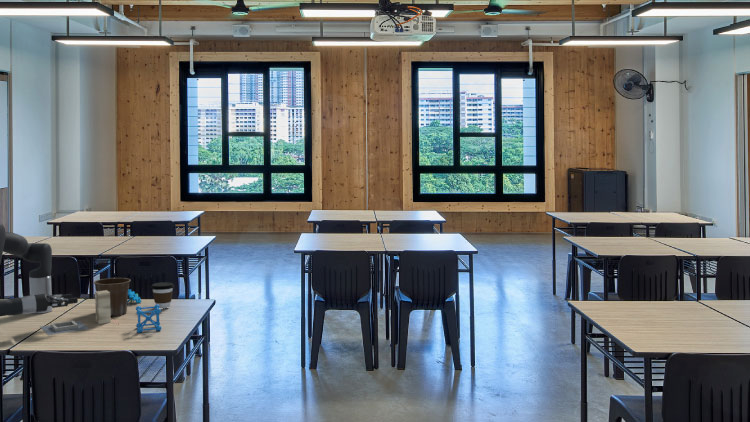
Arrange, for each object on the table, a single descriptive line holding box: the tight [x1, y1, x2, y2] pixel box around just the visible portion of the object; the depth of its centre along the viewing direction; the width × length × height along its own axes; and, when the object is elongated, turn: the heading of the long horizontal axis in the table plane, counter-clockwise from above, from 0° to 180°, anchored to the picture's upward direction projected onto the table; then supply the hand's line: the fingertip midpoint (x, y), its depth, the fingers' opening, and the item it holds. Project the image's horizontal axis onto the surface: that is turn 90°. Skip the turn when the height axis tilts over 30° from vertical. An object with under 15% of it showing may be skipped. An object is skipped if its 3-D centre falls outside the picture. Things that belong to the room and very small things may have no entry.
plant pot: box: [93, 277, 131, 317], centre depth 295 cm, size 16×16×16 cm
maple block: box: [94, 290, 112, 325], centre depth 277 cm, size 5×5×14 cm
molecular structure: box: [135, 304, 162, 334], centre depth 269 cm, size 10×10×10 cm
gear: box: [127, 288, 142, 304], centre depth 317 cm, size 11×6×10 cm
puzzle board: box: [40, 320, 90, 336], centre depth 267 cm, size 16×16×2 cm
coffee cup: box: [150, 281, 175, 308], centre depth 307 cm, size 11×11×12 cm
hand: (74, 298), depth 270 cm, fingers open, 8 cm apart
